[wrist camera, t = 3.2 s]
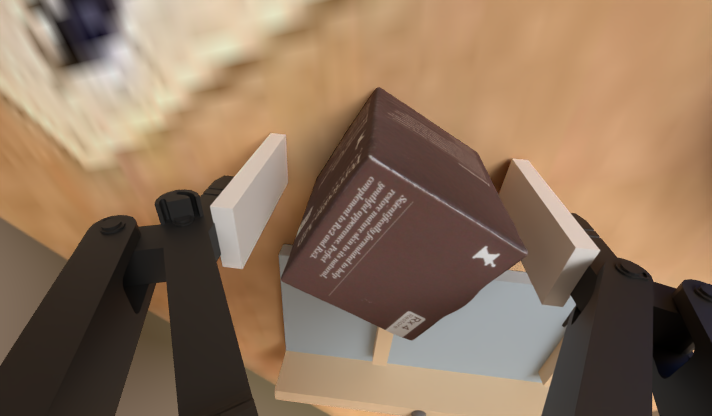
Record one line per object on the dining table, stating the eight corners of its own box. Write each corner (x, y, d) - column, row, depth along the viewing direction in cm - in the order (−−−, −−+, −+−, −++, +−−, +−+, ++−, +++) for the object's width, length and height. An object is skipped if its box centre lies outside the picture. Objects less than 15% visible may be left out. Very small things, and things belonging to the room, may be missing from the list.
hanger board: (283, 243, 20) (256, 306, 16) (715, 294, 19) (798, 372, 15) (289, 347, 26) (272, 411, 22) (617, 388, 26) (659, 462, 22)
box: (378, 81, 14) (370, 149, 8) (481, 152, 16) (537, 254, 10) (314, 180, 18) (274, 282, 11) (404, 232, 19) (411, 347, 13)
